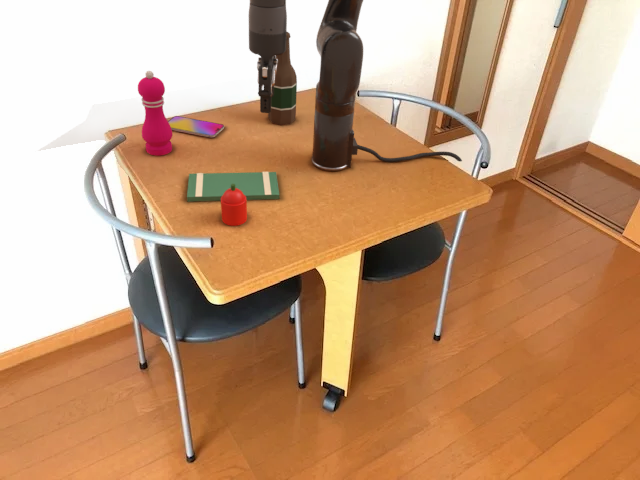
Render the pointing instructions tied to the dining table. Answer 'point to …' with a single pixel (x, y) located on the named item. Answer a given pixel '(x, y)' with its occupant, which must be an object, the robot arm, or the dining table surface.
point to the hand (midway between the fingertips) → (267, 104)
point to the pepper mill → (154, 116)
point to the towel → (218, 183)
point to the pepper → (234, 206)
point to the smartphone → (195, 126)
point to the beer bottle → (284, 90)
